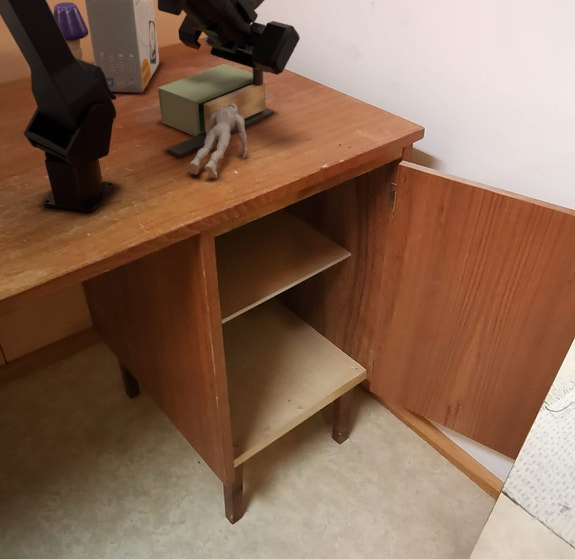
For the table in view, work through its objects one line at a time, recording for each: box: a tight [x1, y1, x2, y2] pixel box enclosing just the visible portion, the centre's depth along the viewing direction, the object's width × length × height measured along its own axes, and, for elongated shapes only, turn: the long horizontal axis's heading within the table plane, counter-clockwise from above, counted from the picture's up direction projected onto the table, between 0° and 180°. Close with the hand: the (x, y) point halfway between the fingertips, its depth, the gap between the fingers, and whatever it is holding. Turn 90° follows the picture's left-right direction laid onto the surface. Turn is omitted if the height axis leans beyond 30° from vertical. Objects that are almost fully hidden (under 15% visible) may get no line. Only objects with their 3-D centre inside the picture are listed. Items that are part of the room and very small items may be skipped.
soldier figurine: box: [188, 103, 248, 179], centre depth 82 cm, size 6×5×12 cm
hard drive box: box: [84, 0, 160, 94], centre depth 101 cm, size 16×8×20 cm, turn 179°
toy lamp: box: [53, 2, 89, 61], centre depth 87 cm, size 5×5×17 cm
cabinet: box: [157, 63, 275, 158], centre depth 91 cm, size 20×10×6 cm, turn 141°
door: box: [204, 68, 266, 132], centre depth 89 cm, size 12×2×10 cm, turn 141°
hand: (263, 68), depth 92 cm, fingers closed on door, 2 cm apart
